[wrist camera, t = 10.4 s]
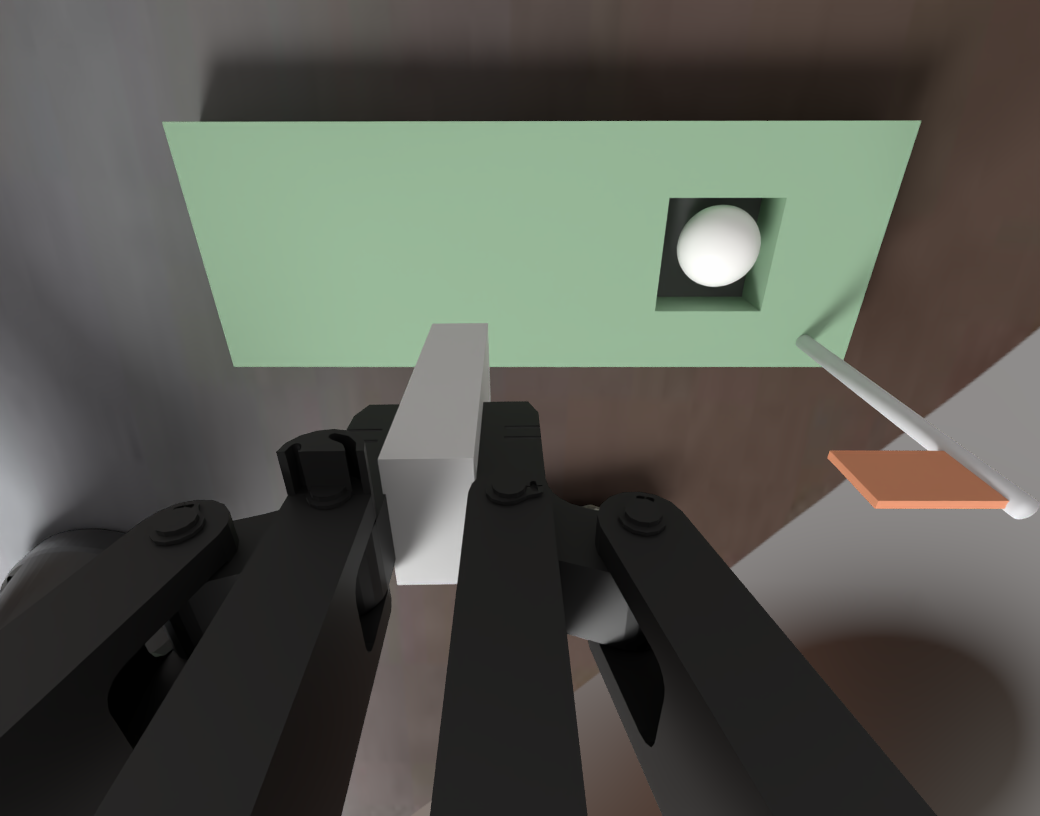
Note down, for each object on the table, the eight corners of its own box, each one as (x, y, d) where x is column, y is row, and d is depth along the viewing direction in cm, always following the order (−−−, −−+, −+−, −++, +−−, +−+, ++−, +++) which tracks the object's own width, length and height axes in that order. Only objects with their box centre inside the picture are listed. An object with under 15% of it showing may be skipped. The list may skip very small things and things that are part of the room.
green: (258, 346, 31) (18, 544, 16) (198, 122, 26) (-252, 113, 11) (814, 346, 31) (1081, 546, 16) (880, 121, 26) (1385, 111, 11)
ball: (751, 299, 25) (753, 278, 28) (768, 212, 23) (768, 200, 26) (667, 292, 26) (678, 273, 29) (676, 209, 24) (687, 198, 28)
